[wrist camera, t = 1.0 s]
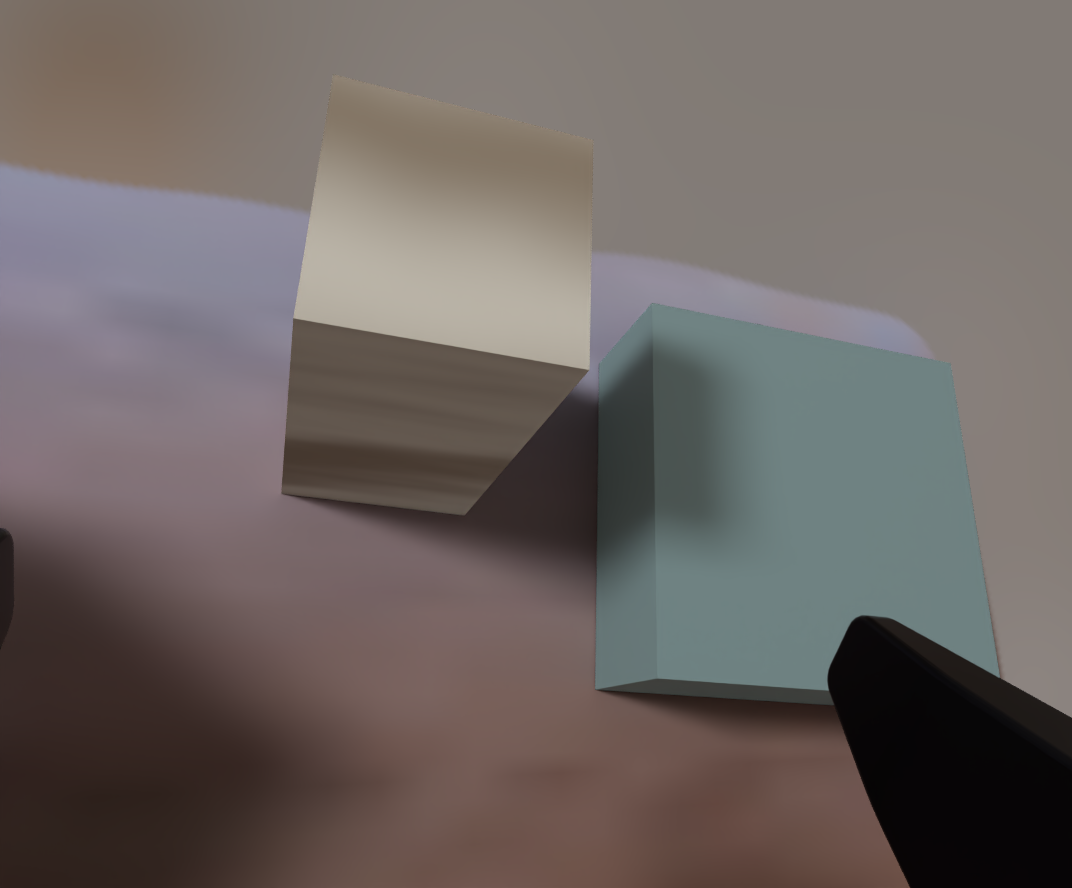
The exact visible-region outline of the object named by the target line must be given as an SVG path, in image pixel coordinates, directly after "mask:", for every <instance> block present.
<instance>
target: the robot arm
mask: <svg viewBox="0 0 1072 888" xmlns="http://www.w3.org/2000/svg"><path fill="white" fill-rule="evenodd" d="M13 607H14V547H13V540H12V536H11V534H10V533H9V532H8V531H7V530H6V529H3V528H0V649H1V646H2V644H3V642H4V639H5V637H6V634H7V632H8V629H9V626H10V623H11V619H12V614H13ZM827 684H828V689H829V693H830V695H831V698H832V701H833V703H834V706H835V709H836V712H837V714H838V717H839V720H840V722H841V725H842V728H843V731H844V733H845V736H846V739H847V741H848V744H849V747H850V750H851V752H852V755H853V758H854V760H855V763H856V766H857V769H858V771H859V774H860V777H861V779H862V782H863V785H864V787H865V790H866V793H867V795H868V798H869V800H870V803H871V805H872V808H873V810H874V812H875V814H876V817H877V819H878V821H879V823H880V825H881V828H882V830H883V832H884V834H885V836H886V838H887V840H888V842H889V844H890V847H891V849H892V851H893V853H894V855H895V857H896V859H897V861H898V863H899V866H900V868H901V870H902V872H903V874H904V876H905V878H906V880H907V882H908V884H909V887H910V888H1072V718H1071V717H1069V716H1067V715H1066V714H1064V713H1062V712H1060V711H1059V710H1057V709H1055V708H1053V707H1051V706H1049V705H1047V704H1046V703H1044V702H1042V701H1041V700H1039V699H1037V698H1035V697H1033V696H1031V695H1030V694H1028V693H1026V692H1024V691H1022V690H1021V689H1019V688H1017V687H1015V686H1013V685H1011V684H1010V683H1008V682H1006V681H1004V680H1003V679H1001V678H999V677H997V676H995V675H994V674H992V673H990V672H988V671H986V670H985V669H983V668H981V667H979V666H977V665H975V664H974V663H972V662H970V661H968V660H966V659H965V658H963V657H961V656H959V655H957V654H956V653H954V652H952V651H950V650H948V649H947V648H945V647H943V646H941V645H939V644H938V643H936V642H934V641H932V640H930V639H928V638H927V637H925V636H923V635H921V634H919V633H918V632H916V631H914V630H912V629H910V628H909V627H907V626H905V625H903V624H901V623H900V622H898V621H896V620H894V619H891V618H888V617H880V616H869V615H861V616H858V617H856V618H855V619H854V620H853V621H852V622H851V623H850V625H849V626H848V628H847V630H846V633H845V635H844V637H843V639H842V641H841V643H840V645H839V647H838V649H837V652H836V654H835V656H834V658H833V660H832V662H831V664H830V667H829V669H828V674H827Z"/></svg>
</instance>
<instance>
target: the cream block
mask: <svg viewBox="0 0 1072 888" xmlns="http://www.w3.org/2000/svg"><path fill="white" fill-rule="evenodd" d="M592 181H593V140H591V139H587V138H583V137H578V136H574V135H571V134H567V133H563V132H559V131H555V130H551V129H547V128H543V127H539V126H535V125H531V124H527V123H523V122H519V121H515V120H511V119H507V118H504V117H500V116H496V115H492V114H488V113H483V112H480V111H476V110H472V109H468V108H464V107H460V106H456V105H452V104H448V103H444V102H440V101H436V100H432V99H428V98H425V97H420V96H417V95H412V94H409V93H405V92H401V91H397V90H393V89H388V88H385V87H381V86H377V85H373V84H369V83H365V82H361V81H357V80H353V79H349V78H345V77H342V76H337V75H333V80H332V86H331V92H330V98H329V104H328V110H327V116H326V123H325V128H324V135H323V141H322V147H321V153H320V159H319V166H318V172H317V178H316V184H315V190H314V196H313V202H312V208H311V214H310V220H309V226H308V232H307V239H306V245H305V251H304V257H303V263H302V269H301V275H300V281H299V288H298V294H297V300H296V306H295V312H294V318H293V332H292V347H291V361H290V376H289V390H288V405H287V419H286V434H285V448H284V463H283V477H282V492H281V494H289V495H297V496H306V497H314V498H322V499H331V500H339V501H347V502H355V503H364V504H372V505H380V506H389V507H397V508H405V509H414V510H422V511H430V512H439V513H447V514H455V515H465V514H466V513H467V512H468V511H469V510H470V509H471V507H472V506H473V505H474V504H475V503H476V502H477V500H478V499H479V498H480V497H481V496H482V495H483V493H484V492H485V491H486V490H487V489H488V488H489V486H490V485H491V484H492V483H493V482H494V481H495V479H496V478H497V477H498V476H499V475H500V474H501V472H502V471H503V470H504V469H505V468H506V467H507V465H508V464H509V463H510V462H511V461H512V460H513V458H514V457H515V456H516V455H517V454H518V453H519V451H520V450H521V449H522V448H523V447H524V446H525V444H526V443H527V442H528V441H529V440H530V439H531V437H532V436H533V435H534V434H535V433H536V432H537V430H538V429H539V428H540V427H541V426H542V425H543V423H544V422H545V421H546V420H547V419H548V418H549V416H550V415H551V414H552V413H553V412H554V411H555V409H556V408H557V407H558V406H559V405H560V404H561V402H562V401H563V400H564V399H565V398H566V397H567V395H568V394H569V393H570V392H571V391H572V390H573V388H574V387H575V386H576V385H577V384H578V383H579V381H580V380H581V379H582V378H583V377H584V376H585V374H586V373H587V372H588V371H589V362H590V303H591V244H592V185H593V183H592Z"/></svg>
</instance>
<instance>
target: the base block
mask: <svg viewBox="0 0 1072 888" xmlns="http://www.w3.org/2000/svg"><path fill="white" fill-rule="evenodd" d="M861 615H869V616H880V617H888V618H891V619H894V620H896V621H898V622H900V623H901V624H903V625H905V626H907V627H909V628H910V629H912V630H914V631H916V632H918V633H919V634H921V635H923V636H925V637H927V638H928V639H930V640H932V641H934V642H936V643H938V644H939V645H941V646H943V647H945V648H947V649H948V650H950V651H952V652H954V653H956V654H957V655H959V656H961V657H963V658H965V659H966V660H968V661H970V662H972V663H974V664H975V665H977V666H979V667H981V668H983V669H985V670H986V671H988V672H990V673H992V674H994V675H995V676H997V677H999V678H1000V675H999V668H998V662H997V655H996V649H995V643H994V636H993V630H992V624H991V617H990V611H989V605H988V598H987V592H986V586H985V579H984V573H983V567H982V560H981V554H980V548H979V541H978V535H977V528H976V522H975V516H974V509H973V503H972V497H971V490H970V484H969V478H968V471H967V465H966V459H965V452H964V447H963V440H962V433H961V427H960V421H959V414H958V408H957V402H956V395H955V389H954V383H953V376H952V370H951V364H950V363H947V362H942V361H937V360H932V359H927V358H922V357H917V356H912V355H907V354H902V353H897V352H892V351H887V350H882V349H877V348H872V347H867V346H863V345H858V344H853V343H848V342H843V341H838V340H833V339H828V338H823V337H818V336H813V335H808V334H803V333H798V332H793V331H788V330H783V329H778V328H773V327H768V326H764V325H759V324H754V323H749V322H744V321H739V320H734V319H729V318H724V317H719V316H714V315H709V314H704V313H699V312H694V311H689V310H684V309H679V308H674V307H669V306H664V305H660V304H655V303H652V304H651V305H650V306H649V307H648V308H647V309H646V311H645V312H644V313H643V314H642V315H641V316H640V318H639V319H638V320H637V321H636V322H635V323H634V324H633V326H632V327H631V328H630V329H629V330H628V331H627V332H626V334H625V335H624V336H623V337H622V338H621V339H620V340H619V342H618V343H617V344H616V345H615V346H614V347H613V349H612V350H611V351H610V352H609V353H608V354H607V355H606V357H605V358H604V359H603V360H602V361H601V362H600V363H599V423H598V505H597V588H596V670H595V690H609V691H624V692H639V693H654V694H669V695H684V696H699V697H714V698H729V699H745V700H760V701H775V702H790V703H805V704H820V705H834V703H833V701H832V698H831V695H830V693H829V689H828V684H827V674H828V669H829V667H830V664H831V662H832V660H833V658H834V656H835V654H836V652H837V649H838V647H839V645H840V643H841V641H842V639H843V637H844V635H845V633H846V630H847V628H848V626H849V625H850V623H851V622H852V621H853V620H854V619H855V618H856V617H858V616H861Z"/></svg>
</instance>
